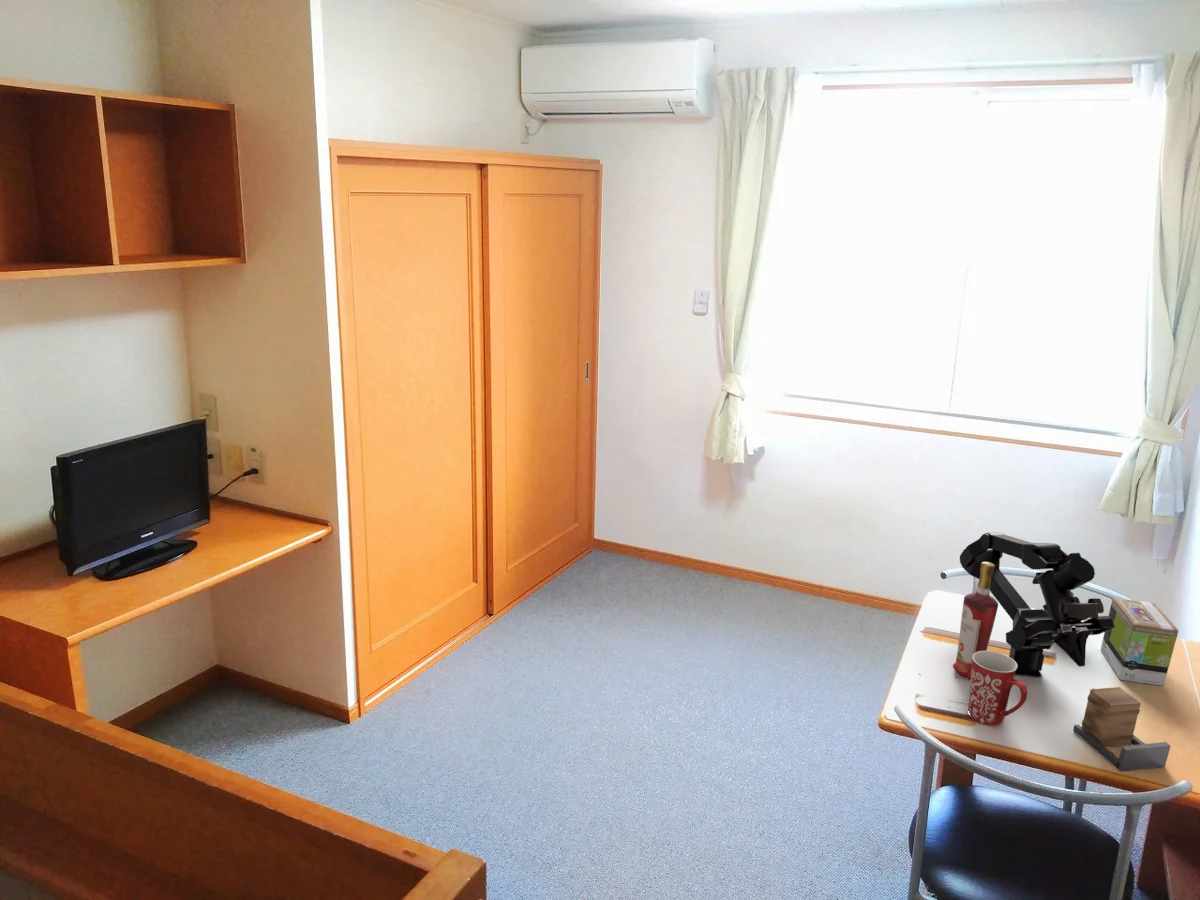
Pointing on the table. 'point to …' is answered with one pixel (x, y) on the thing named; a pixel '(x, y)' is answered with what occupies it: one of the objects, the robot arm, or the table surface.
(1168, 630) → the tea box
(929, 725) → the table surface
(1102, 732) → the chest
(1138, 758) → the bay
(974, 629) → the liquor
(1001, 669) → the mug
